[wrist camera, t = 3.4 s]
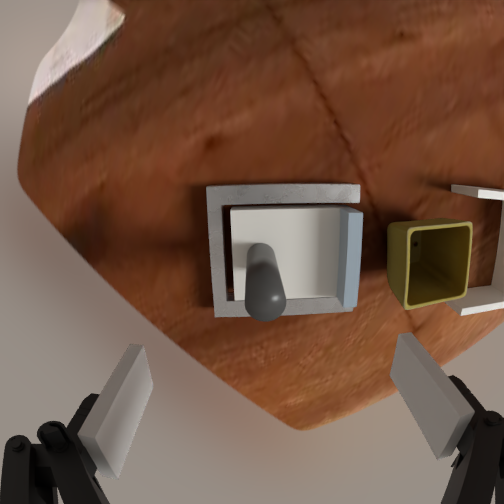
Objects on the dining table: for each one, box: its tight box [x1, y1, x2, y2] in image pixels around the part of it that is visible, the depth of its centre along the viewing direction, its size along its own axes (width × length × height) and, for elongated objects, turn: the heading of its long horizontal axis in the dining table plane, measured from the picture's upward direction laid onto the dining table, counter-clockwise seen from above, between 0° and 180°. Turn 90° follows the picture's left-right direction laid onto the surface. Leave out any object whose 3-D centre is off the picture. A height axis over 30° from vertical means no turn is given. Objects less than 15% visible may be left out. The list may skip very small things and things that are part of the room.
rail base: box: [206, 183, 360, 317], centre depth 36 cm, size 16×15×2 cm
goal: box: [444, 184, 504, 316], centre depth 34 cm, size 12×16×6 cm
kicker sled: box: [230, 205, 363, 321], centre depth 29 cm, size 13×10×15 cm
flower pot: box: [387, 218, 472, 310], centre depth 32 cm, size 9×9×9 cm
